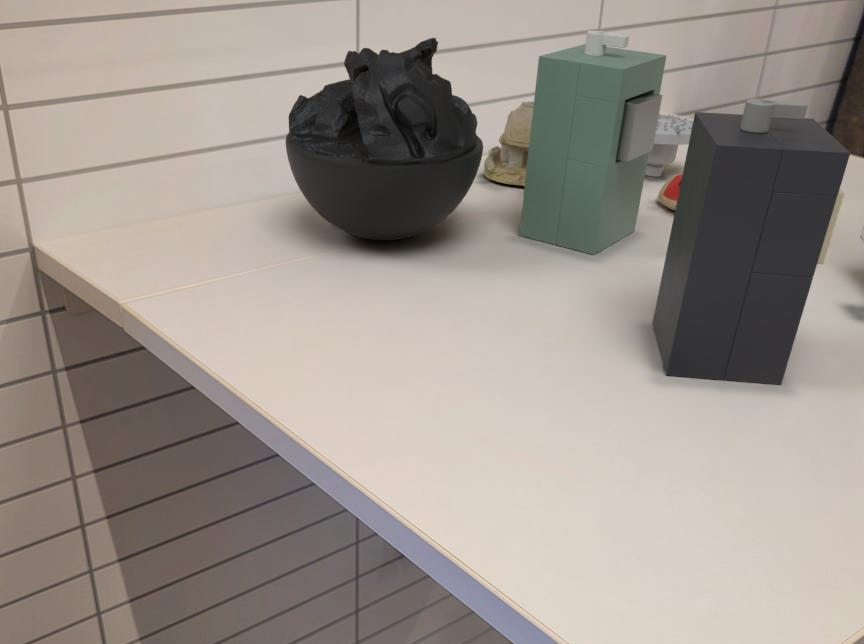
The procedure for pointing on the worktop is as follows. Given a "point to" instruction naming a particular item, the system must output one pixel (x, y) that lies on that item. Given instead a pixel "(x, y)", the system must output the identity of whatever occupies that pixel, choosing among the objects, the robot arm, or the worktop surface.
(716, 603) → the worktop surface
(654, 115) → the plate
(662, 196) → the red and beige wedge
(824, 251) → the lotion plate
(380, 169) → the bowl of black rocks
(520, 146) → the ceramic model
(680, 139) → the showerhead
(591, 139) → the soap dispenser
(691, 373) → the lotion dispenser
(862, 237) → the robot arm
